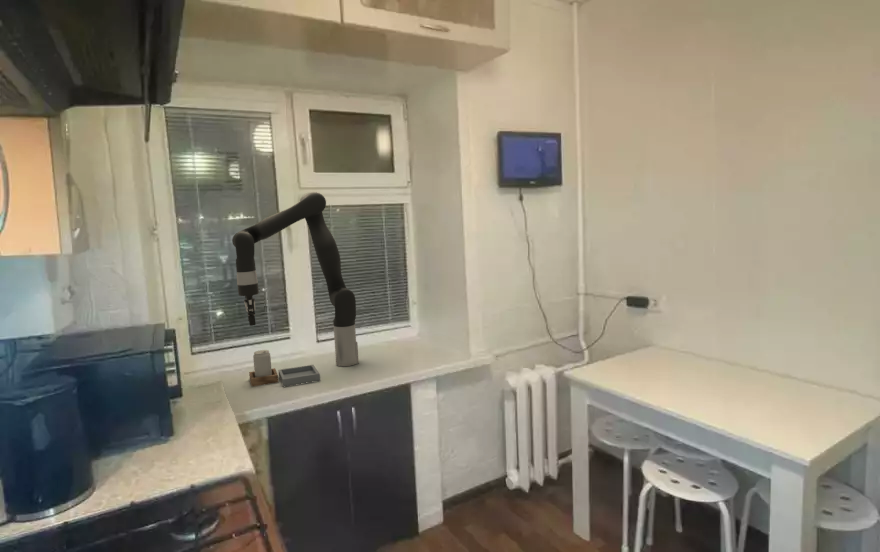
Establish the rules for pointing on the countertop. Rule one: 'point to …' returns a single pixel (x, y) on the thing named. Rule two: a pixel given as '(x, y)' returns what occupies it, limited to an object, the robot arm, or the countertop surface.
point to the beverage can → (262, 363)
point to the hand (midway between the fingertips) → (252, 323)
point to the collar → (263, 378)
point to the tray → (298, 375)
